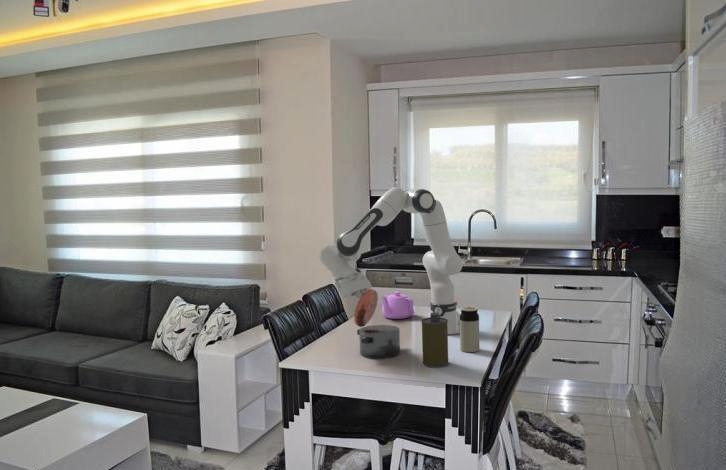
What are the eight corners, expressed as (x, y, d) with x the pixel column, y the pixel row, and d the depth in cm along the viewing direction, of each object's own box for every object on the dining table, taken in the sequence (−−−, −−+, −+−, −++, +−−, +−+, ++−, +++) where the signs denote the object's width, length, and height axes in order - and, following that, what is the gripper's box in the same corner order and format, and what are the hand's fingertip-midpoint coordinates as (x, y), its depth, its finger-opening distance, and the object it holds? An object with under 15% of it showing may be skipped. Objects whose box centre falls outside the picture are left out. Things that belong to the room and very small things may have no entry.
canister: (448, 368, 212) (447, 316, 211) (421, 367, 214) (419, 316, 213) (449, 359, 223) (448, 310, 221) (423, 359, 225) (422, 310, 223)
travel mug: (476, 353, 230) (475, 310, 229) (457, 351, 234) (457, 309, 232) (481, 348, 237) (481, 306, 236) (463, 346, 241) (463, 305, 239)
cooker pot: (374, 343, 251) (374, 321, 250) (410, 347, 242) (410, 324, 241) (345, 358, 230) (344, 334, 229) (383, 363, 221) (383, 338, 220)
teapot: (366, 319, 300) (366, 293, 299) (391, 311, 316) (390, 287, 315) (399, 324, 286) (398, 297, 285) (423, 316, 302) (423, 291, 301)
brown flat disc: (372, 322, 246) (367, 319, 247) (381, 287, 242) (375, 285, 244) (353, 330, 232) (347, 328, 233) (361, 293, 228) (356, 291, 229)
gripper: (337, 274, 231) (357, 300, 227) (362, 268, 249) (381, 291, 244) (328, 284, 234) (348, 309, 229) (353, 277, 251) (373, 300, 247)
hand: (365, 300), depth 237 cm, fingers closed, pressing on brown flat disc
